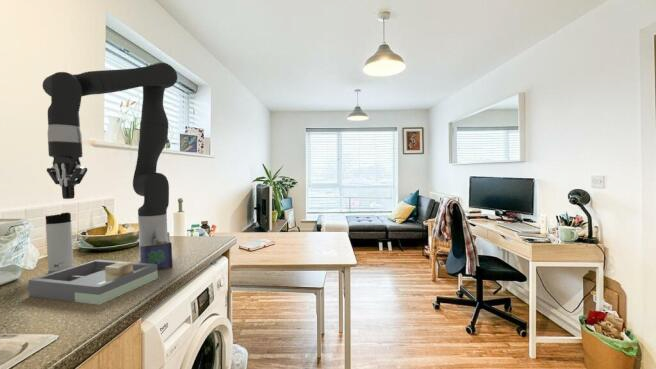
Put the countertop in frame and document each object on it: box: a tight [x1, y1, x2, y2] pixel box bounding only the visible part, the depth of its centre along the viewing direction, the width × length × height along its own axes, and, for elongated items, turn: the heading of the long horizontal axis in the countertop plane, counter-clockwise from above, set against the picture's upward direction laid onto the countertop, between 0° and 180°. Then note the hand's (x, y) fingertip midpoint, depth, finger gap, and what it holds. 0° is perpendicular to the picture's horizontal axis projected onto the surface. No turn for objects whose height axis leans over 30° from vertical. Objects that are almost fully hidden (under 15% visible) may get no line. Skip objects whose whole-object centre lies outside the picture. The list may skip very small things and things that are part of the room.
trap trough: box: [27, 259, 159, 306], centre depth 82 cm, size 18×24×4 cm
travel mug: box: [45, 212, 75, 274], centre depth 96 cm, size 6×7×20 cm
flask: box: [139, 238, 173, 271], centre depth 97 cm, size 9×3×11 cm, turn 121°
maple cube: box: [105, 261, 133, 282], centre depth 80 cm, size 4×4×4 cm
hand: (68, 198), depth 86 cm, fingers closed
